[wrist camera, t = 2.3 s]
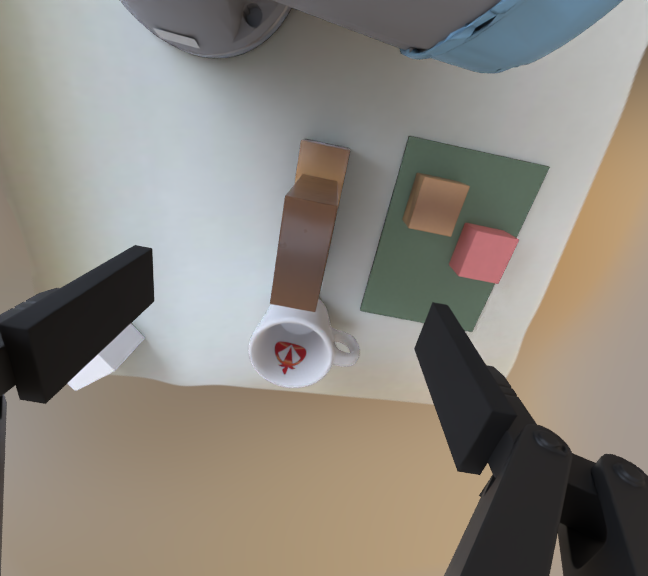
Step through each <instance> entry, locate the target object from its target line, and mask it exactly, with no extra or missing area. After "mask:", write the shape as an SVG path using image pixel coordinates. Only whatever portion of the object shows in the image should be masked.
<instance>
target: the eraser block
mask: <svg viewBox="0 0 648 576" xmlns="http://www.w3.org/2000/svg"><path fill="white" fill-rule="evenodd" d="M518 241H519V239H517V238H515V237H514V236H512V235H510V234H509V233H507V232H505V231H504V230H499V229H494V228H489V227H484V226H480V225H475V224H470V223H465V224H464V227H463V229H462V232H461V235H460V237H459V240H458V242H457V245H456V247H455V250H454V252H453V255H452V258H451V260H450V263H449V265H450V267H451V268H452V269H453V270H454V271H455V273H456V274H457V275H458V276H460V277H465V278H470V279H475V280H480V281H485V282H490V283H495V284H498V283H499V281H500V279H501V277H502V275H503V273H504V271H505V269H506V266H507V264H508V262H509V260H510V258H511V256H512V254H513V252H514V250H515V248H516V245H517V243H518Z"/></svg>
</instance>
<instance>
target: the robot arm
mask: <svg viewBox="0 0 648 576" xmlns="http://www.w3.org/2000/svg"><path fill="white" fill-rule="evenodd" d="M120 1H121V3H122V4H123V5H124V6H125V7H126V8H127V10H128V11H129V12H130V13H131V14H132V15H133V16H134V17H135V18H136V19H137V20H138V21H139V22H140V23H142V24H143V25H144V26H145V27H146V28H147V29H148V30H150V31H151V32H152V33H153V34H155V35H156V36H157V37H159V38H161V39H162V40H164V41H165V42H167V43H169V44H171V45H173V46H175V47H177V48H178V49H180V50H183V51H185V52H188V53H190V54H193V55H197V56H201V57H207V58H228V57H233V56H237V55H240V54H243V53H246V52H248V51H250V50H252V49H254V48H256V47H257V46H259V45H260V44H262V43H263V42H264V41H265V40H267V39H268V38H269V37H270V36H271V35H272V34H273V33H274V32H275V31H276V30H277V29H278V27H279V26H280V25H281V24H282V22H283V21H284V19H285V18H286V16H287V15H288V13H289V11H290V10H291V8H294V9H297V10H300V11H302V12H305V13H308V14H310V15H313V16H316V17H318V18H321V19H323V20H326V21H329V22H331V23H334V24H337V25H339V26H342V27H345V28H347V29H350V30H353V31H355V32H358V33H361V34H363V35H366V36H369V37H371V38H374V39H376V40H379V41H382V42H384V43H387V44H390V45H392V46H395V47H398V48H399V49H400V52H401V54H403V55H405V56H407V57H409V58H412V59H419V60H420V59H427V58H432V59H436V60H439V61H442V62H445V63H448V64H451V65H455V66H458V67H461V68H464V69H467V70H471V71H474V72H479V73H500V72H503V71H505V70H508V69H510V68H513V67H518V66H521V65H527V64H530V63H532V62H534V61H537V60H539V59H540V58H542V57H544V56H546V55H548V54H550V53H551V52H553V51H555V50H556V49H558V48H560V47H561V46H563V45H565V44H566V43H568V42H569V41H571V40H572V39H574V38H575V37H577V36H578V35H579V34H581V33H582V32H584V31H585V30H586V29H588V28H589V27H590V26H592V25H593V24H594V23H596V22H597V21H598V20H600V19H601V18H602V17H603V16H605V15H606V14H607V13H608V12H610V11H611V10H612V9H613V8H615V7H616V6H617V5H618V4H619V3H621V2H622V1H623V0H120ZM153 302H154V281H153V256H152V248H147V247H142V246H137V245H134V246H133V247H131V248H129V249H127V250H126V251H124V252H122V253H121V254H119V255H117V256H115V257H114V258H112V259H110V260H108V261H107V262H105V263H103V264H101V265H100V266H98V267H96V268H95V269H93V270H91V271H89V272H88V273H86V274H84V275H82V276H81V277H79V278H77V279H75V280H74V281H72V282H70V283H69V284H67V285H65V286H63V287H62V288H54V289H51V290H48V291H45V292H41V293H39V294H37V295H35V296H33V297H31V298H30V299H28V300H26V302H22V303H21V304H19V305H17V306H15V308H14V309H13V308H12V309H10V310H8V311H6V312H4V313H2V314H1V315H0V575H1V549H2V519H3V491H4V464H5V462H4V461H5V435H6V432H5V431H6V406H7V402H6V399H5V396H4V394H5V393H6V392H7V391H8V390H10V389H11V388H12V387H14V386H15V385H16V388H17V391H18V395H19V398H20V400H26V401H32V402H39V403H45V404H46V403H47V402H48V401H49V400H50V399H51V398H52V397H53V396H54V395H55V394H57V393H58V392H59V391H60V390H61V389H62V388H63V387H64V386H65V385H66V384H67V383H68V382H69V381H70V380H71V379H72V378H73V377H75V376H76V375H77V374H78V373H79V372H80V371H81V370H82V369H83V368H84V367H85V366H86V365H87V364H88V363H89V362H90V361H91V360H93V359H94V358H95V357H96V356H97V355H98V354H99V353H100V352H101V351H102V350H103V349H104V348H105V347H106V346H107V345H108V344H109V343H111V342H112V341H113V340H114V339H115V338H116V337H117V336H118V335H119V334H120V333H121V332H122V331H123V330H124V329H125V328H126V327H127V326H129V325H130V324H131V323H132V322H133V321H134V320H135V319H136V318H137V317H138V316H139V315H140V314H141V313H142V312H143V311H144V310H145V309H147V308H148V307H149V306H150V305H151V304H152V303H153ZM414 349H415V352H416V355H417V358H418V360H419V363H420V366H421V369H422V372H423V375H424V378H425V380H426V383H427V386H428V389H429V392H430V395H431V397H432V400H433V403H434V406H435V409H436V411H437V414H438V417H439V420H440V423H441V426H442V429H443V431H444V434H445V437H446V440H447V442H448V445H449V448H450V451H451V454H452V457H453V460H454V462H455V465H456V468H457V471H459V472H465V473H471V474H478V475H480V474H481V473H482V471H483V469H484V468H485V466H486V464H487V463H488V464H489V466H490V468H491V471H492V473H493V475H492V477H491V478H490V480H489V481H488V483H487V484H486V486H485V487H484V489H483V490H482V492H481V493H480V495H479V496H480V497H481V498H480V500H479V502H478V505H477V507H476V509H475V511H474V513H473V515H472V517H471V519H470V522H469V524H468V526H467V528H466V530H465V532H464V534H463V536H462V539H461V541H460V543H459V545H458V547H457V549H456V552H455V554H454V556H453V558H452V560H451V562H450V564H449V567H448V568H447V571H446V573H445V575H444V576H549V574H550V569H551V564H552V559H553V554H554V549H555V544H556V539H557V534H558V538H559V545H560V552H561V561H562V568H563V576H648V476H647V475H646V474H645V473H644V472H643V471H642V470H641V469H640V468H639V467H637V466H636V465H634V464H633V463H631V462H629V461H627V460H625V459H623V458H621V457H619V456H616V455H613V454H604V455H603V456H601V458H600V459H599V460H598V461H597V463H594V462H592V461H589V460H587V459H584V458H582V457H580V456H577V455H575V454H573V453H572V452H571V450H570V448H569V447H568V445H567V444H566V443H565V442H564V441H563V440H562V439H561V438H560V437H559V436H558V435H557V434H555V433H554V432H552V431H551V430H549V429H547V428H545V427H543V426H540V425H537V424H536V423H535V421H534V419H533V418H532V417H531V415H530V414H529V412H528V411H527V409H526V408H525V406H524V405H523V403H522V402H521V400H520V399H519V397H517V395H516V393H515V391H514V390H513V389H511V385H510V384H509V383H508V381H507V380H506V378H505V377H504V376H503V375H502V374H501V373H500V372H499V371H498V370H497V369H495V368H494V367H493V366H487V365H486V364H485V363H484V361H483V360H482V358H481V356H480V355H479V353H478V352H477V350H476V348H475V347H474V345H473V344H472V342H471V341H470V339H469V337H468V336H467V334H466V333H465V331H464V329H463V328H462V326H461V325H460V323H459V322H458V320H457V318H456V317H455V315H454V314H453V312H452V310H451V309H450V307H449V306H448V305H445V304H440V303H435V302H432V305H431V307H430V310H429V312H428V315H427V317H426V320H425V323H424V325H423V328H422V330H421V333H420V335H419V338H418V341H417V343H416V346H415V348H414Z"/></svg>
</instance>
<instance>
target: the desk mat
mask: <svg viewBox="0 0 648 576" xmlns="http://www.w3.org/2000/svg"><path fill="white" fill-rule="evenodd" d="M549 168H550V167H548V166H543V165H539V164H534V163H529V162H525V161H520V160H516V159H511V158H507V157H502V156H498V155H493V154H489V153H484V152H480V151H475V150H471V149H466V148H462V147H457V146H452V145H448V144H443V143H439V142H434V141H430V140H425V139H421V138H416V137H412V136H409V138H408V142H407V145H406V149H405V152H404V156H403V159H402V163H401V167H400V170H399V174H398V177H397V181H396V184H395V188H394V191H393V195H392V198H391V202H390V206H389V209H388V213H387V216H386V220H385V223H384V227H383V230H382V234H381V237H380V241H379V245H378V248H377V252H376V255H375V259H374V262H373V266H372V269H371V273H370V276H369V280H368V283H367V287H366V291H365V294H364V298H363V301H362V305H361V308H360V311H363V312H369V313H374V314H379V315H384V316H390V317H395V318H400V319H406V320H411V321H416V322H421V323H425V320H426V317H427V315H428V312H429V310H430V307H431V305H432V302H435V303H440V304H445V305H448V306H449V307H450V309H451V310H452V312H453V314H454V315H455V317H456V318H457V320H458V322H459V323H460V325H461V326H462V328H463V329H464V331H469V332H472V331H473V329H474V327H475V325H476V323H477V320H478V318H479V316H480V314H481V312H482V310H483V308H484V306H485V304H486V301H487V299H488V297H489V295H490V293H491V291H492V289H493V287H494V284H495V283H490V282H485V281H480V280H475V279H470V278H465V277H460V276H458V275H457V274H456V273H455V271H454V270H453V269H452V268H451V267H450V265H449V263H450V260H451V258H452V255H453V252H454V250H455V247H456V245H457V242H458V240H459V237H460V235H461V232H462V229H463V227H464V224H465V223H470V224H475V225H480V226H484V227H489V228H494V229H499V230H504V231H505V232H507V233H509V234H510V235H512V236H514V237H515V238H517V236H518V234H519V231H520V229H521V227H522V225H523V223H524V221H525V219H526V217H527V214H528V212H529V210H530V208H531V206H532V204H533V202H534V200H535V198H536V195H537V193H538V191H539V189H540V187H541V185H542V183H543V181H544V178H545V176H546V174H547V172H548V170H549ZM416 173H423V174H427V175H432V176H436V177H441V178H446V179H450V180H455V181H459V182H461V183H464V184H466V185H468V186H470V188H469V190H468V193H467V196H466V198H465V201H464V203H463V206H462V209H461V211H460V214H459V217H458V219H457V222H456V225H455V227H454V230H453V232H452V235H451V237H449V236H444V235H440V234H435V233H430V232H425V231H420V230H415V229H410V228H408V227H407V225H406V224H405V223H404V221H403V220H402V219H403V216H404V213H405V209H406V206H407V203H408V199H409V196H410V193H411V190H412V186H413V183H414V180H415V177H416Z"/></svg>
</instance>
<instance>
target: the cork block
mask: <svg viewBox="0 0 648 576" xmlns="http://www.w3.org/2000/svg"><path fill="white" fill-rule="evenodd" d="M469 188H470V186H468V185H466V184H464V183H461V182H459V181H455V180H450V179H446V178H441V177H436V176H432V175H427V174H423V173H416V177H415V180H414V183H413V186H412V190H411V193H410V196H409V199H408V203H407V206H406V209H405V213H404V216H403V219H402V220H403V221H404V223H405V224H406V225H407V227H408V228H410V229H415V230H420V231H425V232H430V233H435V234H440V235H444V236H449V237H451V235H452V232H453V230H454V227H455V225H456V222H457V219H458V217H459V214H460V211H461V209H462V206H463V203H464V201H465V198H466V196H467V193H468V190H469Z"/></svg>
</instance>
